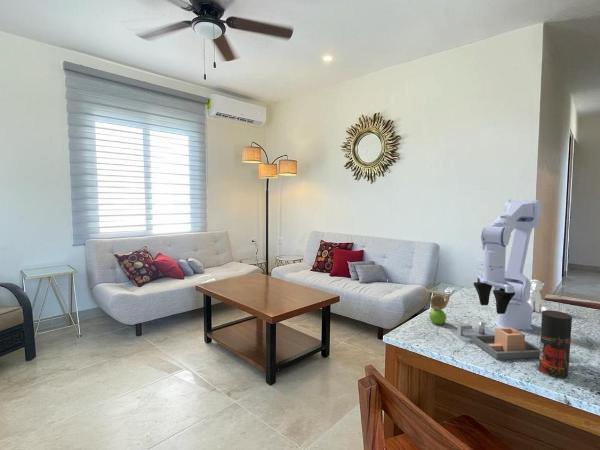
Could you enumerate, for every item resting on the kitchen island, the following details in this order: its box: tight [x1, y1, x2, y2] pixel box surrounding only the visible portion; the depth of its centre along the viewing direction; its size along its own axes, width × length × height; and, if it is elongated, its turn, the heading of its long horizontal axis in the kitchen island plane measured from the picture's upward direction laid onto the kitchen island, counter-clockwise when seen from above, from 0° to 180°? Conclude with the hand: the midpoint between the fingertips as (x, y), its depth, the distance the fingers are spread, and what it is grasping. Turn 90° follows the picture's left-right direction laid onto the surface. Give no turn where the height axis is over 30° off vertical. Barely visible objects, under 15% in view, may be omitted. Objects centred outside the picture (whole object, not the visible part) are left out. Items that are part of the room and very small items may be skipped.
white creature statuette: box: [527, 279, 549, 314], centre depth 131 cm, size 10×9×12 cm
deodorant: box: [538, 309, 573, 379], centre depth 84 cm, size 6×6×15 cm
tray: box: [470, 335, 540, 361], centre depth 96 cm, size 14×12×2 cm
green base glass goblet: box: [429, 290, 451, 326], centre depth 116 cm, size 5×6×12 cm
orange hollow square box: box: [488, 327, 526, 351], centre depth 96 cm, size 9×5×5 cm, turn 95°
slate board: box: [447, 326, 495, 342], centre depth 107 cm, size 14×9×1 cm, turn 95°
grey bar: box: [457, 321, 486, 336], centre depth 107 cm, size 8×2×4 cm, turn 95°
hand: (492, 309), depth 103 cm, fingers open, 7 cm apart
